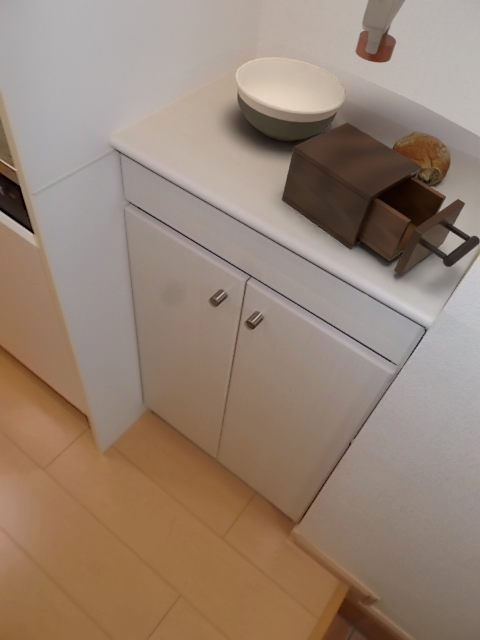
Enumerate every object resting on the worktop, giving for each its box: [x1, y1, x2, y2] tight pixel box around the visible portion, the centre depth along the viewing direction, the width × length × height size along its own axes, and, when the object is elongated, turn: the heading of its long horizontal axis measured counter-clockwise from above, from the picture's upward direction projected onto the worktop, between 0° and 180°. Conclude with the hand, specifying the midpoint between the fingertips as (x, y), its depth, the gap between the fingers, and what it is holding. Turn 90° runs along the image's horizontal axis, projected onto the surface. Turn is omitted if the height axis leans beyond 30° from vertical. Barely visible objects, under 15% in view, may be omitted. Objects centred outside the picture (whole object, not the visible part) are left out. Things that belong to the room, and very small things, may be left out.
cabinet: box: [281, 122, 421, 250], centre depth 76 cm, size 14×12×9 cm
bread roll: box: [392, 131, 451, 187], centre depth 87 cm, size 10×10×8 cm
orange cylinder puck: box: [355, 30, 397, 64], centre depth 86 cm, size 6×6×3 cm
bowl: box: [234, 56, 347, 142], centre depth 90 cm, size 19×19×8 cm
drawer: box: [357, 176, 480, 276], centre depth 72 cm, size 17×11×7 cm, turn 44°
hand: (376, 43), depth 85 cm, fingers closed on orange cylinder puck, 6 cm apart
